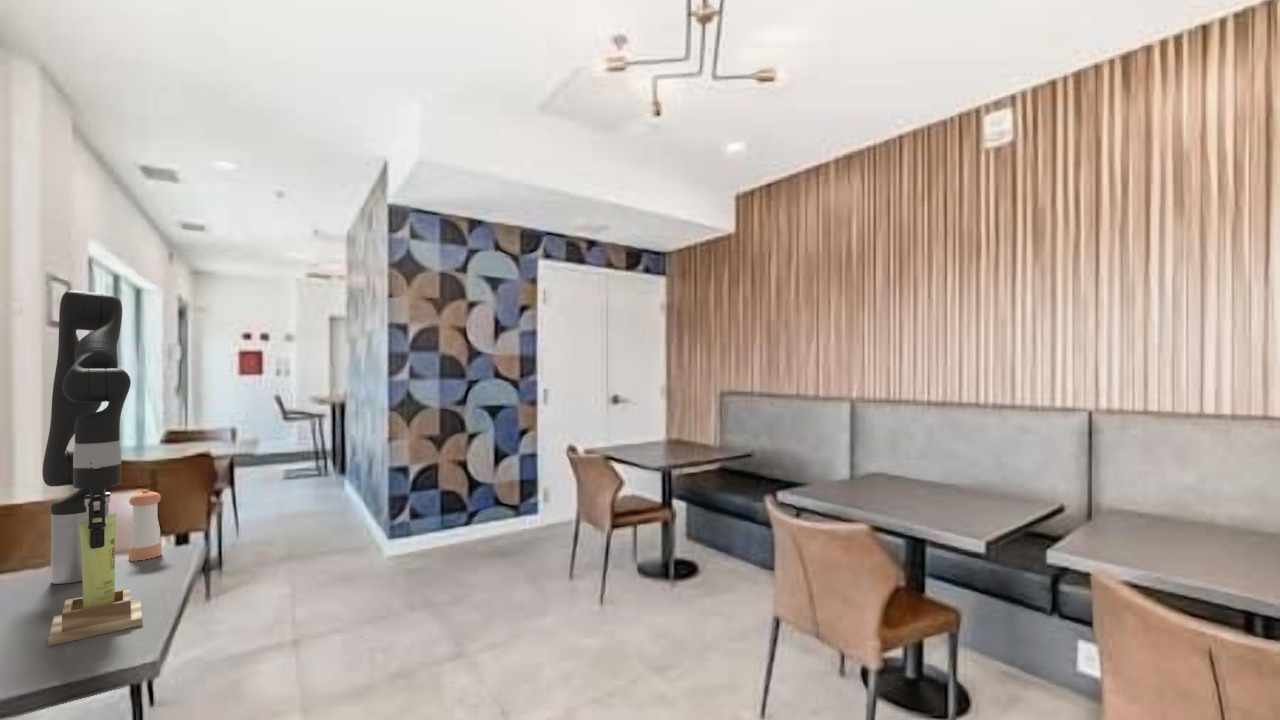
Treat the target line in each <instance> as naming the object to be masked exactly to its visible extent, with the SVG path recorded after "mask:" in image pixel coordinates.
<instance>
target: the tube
mask: <svg viewBox="0 0 1280 720" xmlns="http://www.w3.org/2000/svg"><path fill="white" fill-rule="evenodd" d="M95 522H102V518H96V519H93V523H95ZM105 523H106V527H105V544H104V546H103V547H101V548H94V549H92V548H90V531H89V529H88V525H89V520H88V521H84V522H80V523H79V529H80V541H81V557H82V582H81V583H82V597H83V608H88V607H93V606H98V605H103V604H108V603H113V602H114V593H115V591H116V590H115V589H116V587H115V584H116V583H115V579H116V577H115V575H116V572H115V570H116V569H115V568H116V567H115V566H116V563H115V562H116V558H115V557H116V535H117V533H116V532H117V531H116V528H117V512H116V513H111V514H108V517H106V518H105Z"/></svg>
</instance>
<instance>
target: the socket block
mask: <svg viewBox="0 0 1280 720" xmlns="http://www.w3.org/2000/svg"><path fill="white" fill-rule="evenodd" d="M136 626H137V627H140V626H143V612H142V603H141V598H138V599H134V600H133V599H132V600H131V587H128V588H123V589H121V588H120V589H117V590H115V593H114V602H113V603H108V604H103V605H98V606H93V607H88V608H83V596H80V597H73V598H69V599H65V600H64V604H63V609H62V612H61V614H59V615H54V616H53V620H52V623H51V627H50V630H49V634H48V638H47V640H48V642H47V644H48V645H47V647H52V646H55V645H60V644H64V643H68V642H74V641H78V640H83V639H87V638H91V637H96V635H97V636H99V635H101V636H102V635H104V634H105V633H106V634H110V633H115V632H119V631H123V630H128V629H131V627H132V628H135V627H136ZM127 628H128V629H127ZM106 634H105V635H106Z"/></svg>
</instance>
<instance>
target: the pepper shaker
mask: <svg viewBox="0 0 1280 720" xmlns="http://www.w3.org/2000/svg"><path fill="white" fill-rule="evenodd" d="M161 499H162V495H161V493H159V492H155V491H150V490H149V489H143V490H142V491H141V492H138V493H135V494H133V495H131V496H130V498H129V500H128V503H129V504H130V506H132V524H131V528H130V534H129V539H130V540H129V541H130V546H128V561H129V560H130V562H138V561H137V560H143V561H146V560H145V559H149V560H151V559H150V558H153V559H155V558H154V557H157V556H159V557H161V556H162V554H163V552H162V549H163V548H162V547H163V546H162V541H161V528H160V522H159V518H158V516H159V515H158V514H159V513H158V503H160V501H161ZM160 555H161V556H160ZM157 558H158V557H157Z"/></svg>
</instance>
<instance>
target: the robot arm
mask: <svg viewBox="0 0 1280 720" xmlns="http://www.w3.org/2000/svg"><path fill="white" fill-rule="evenodd" d="M59 303H60V304H59V313H58V347H57V349H58V350H57V357H56V358H57V359H56V367H55V372H54V378H53V385H52V386H53V387H52V394H51V395H52V397H51V413H50V424H49V425H50V426H49V431H48V432H49V433H48V437H47V441H46V448H45V452H44V456H43V462H42V471H41V472H42V479H43V482H44V484H45V485H46V486H49V487H65V486H73V488H74V489H77V490H76V491H74V492H72V493H70V494H69V495H65V496H64V497H61V498H60V499H59V498H58V499H56V500H55V501H53V502H51V503H52V504H51V507H50V509H51V510H50V519H51V520H50V525H51V526H50V529H51V530H50V531H51V533H50V534H51V538H50V541H51V545H50V550H51V551H50V558H51V559H50V561H51V562H50V563H51V564H50V567H51V568H50V573H51V574H50V582H51V584H55V585H56V584H58V585H59V584H70V583H77V582H81V581H82V557H81V541H80V529H79V523H80V522H84V521H88V520H89V525H88V529H89V531H90V548H92V549H94V548H101V547H103V546H104V544H105V527H106V523H105V518H106V517H108V515H109V512H110V511H109V508H110V507H109V504H110V503H111V492H107V490H106V488H107V487H114V486H118V485H119V484H120V483H122V447H121V443H120V442H121V441H120V440H121V438H120V436H121V435H120V434H121V433H120V428H121V427H120V426H121V425H120V424H121V415H122V411H123V407H124V405H125V402H126V399H127V396H128V394H129V391H130V388H131V384H132V383H131V376H130V375H129V374H128V372H127V371H125V370H124V369H122V368H118V366H119V361H118V351H117V348H118V341H119V338H120V334H121V327H122V318H123V304H122V301H121V300H120V298H119V297H118V296H116V295H114V294H110V293H109V294H108V293H99V292H93V291H92V292H91V291H81V290H66V291H65V292H64V293H63V294H62V296H61V300H60V302H59ZM77 331H90V332H89V333H88V334H86V335H84V336H83V337H82V338H81V339H79V338H78V335H77ZM103 402H104V403H105V402H108V404H107V405H106V407H104V408H103V409H102V410H99V409H100V407H101V406H102V403H103ZM98 410H99V411H98ZM73 436H74V437H73ZM72 438H74V446H73V447H74V448H68V446H69V444H70V441H71V440H72ZM96 518H102V522H95V523H93V519H96Z"/></svg>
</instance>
